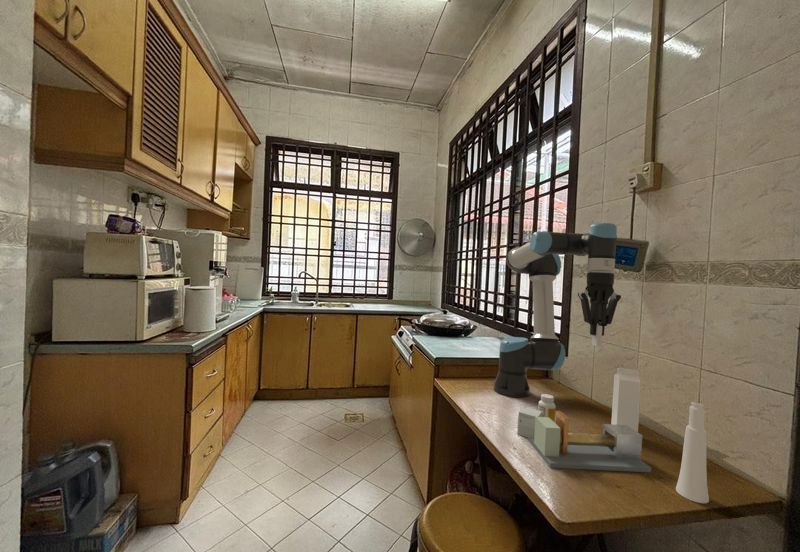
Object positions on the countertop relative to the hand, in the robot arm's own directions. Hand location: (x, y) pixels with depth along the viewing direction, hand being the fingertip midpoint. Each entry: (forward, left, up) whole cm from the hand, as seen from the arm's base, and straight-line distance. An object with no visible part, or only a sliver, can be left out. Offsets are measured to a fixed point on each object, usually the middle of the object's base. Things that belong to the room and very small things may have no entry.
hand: (596, 345), depth 108 cm
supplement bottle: (-8, -11, -30) cm, 33 cm away
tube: (+12, -10, -28) cm, 32 cm away
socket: (+12, -20, -28) cm, 37 cm away
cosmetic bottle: (+28, +8, -30) cm, 42 cm away
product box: (0, -20, -30) cm, 36 cm away
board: (+12, -9, -29) cm, 33 cm away
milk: (-2, +12, -30) cm, 32 cm away
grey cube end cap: (+12, +2, -28) cm, 31 cm away
